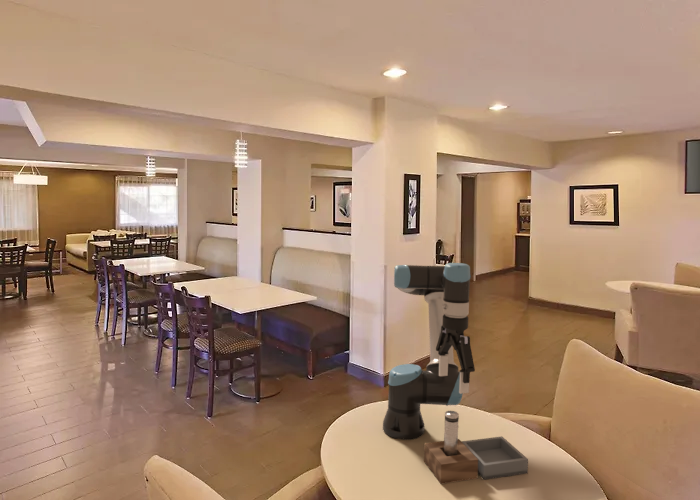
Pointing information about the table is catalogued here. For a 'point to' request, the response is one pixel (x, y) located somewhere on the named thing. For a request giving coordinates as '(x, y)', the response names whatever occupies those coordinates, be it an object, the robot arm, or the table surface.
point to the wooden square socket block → (450, 463)
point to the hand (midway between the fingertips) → (453, 383)
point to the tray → (497, 457)
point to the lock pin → (451, 433)
